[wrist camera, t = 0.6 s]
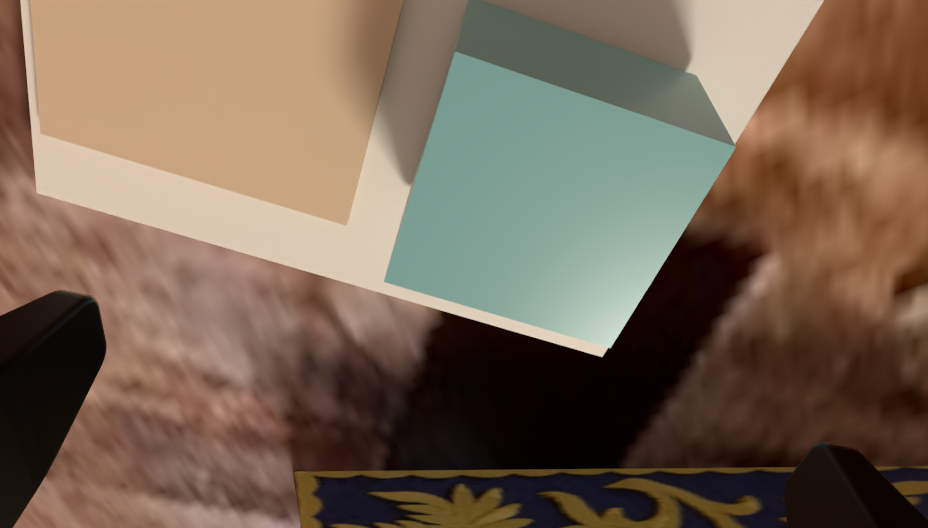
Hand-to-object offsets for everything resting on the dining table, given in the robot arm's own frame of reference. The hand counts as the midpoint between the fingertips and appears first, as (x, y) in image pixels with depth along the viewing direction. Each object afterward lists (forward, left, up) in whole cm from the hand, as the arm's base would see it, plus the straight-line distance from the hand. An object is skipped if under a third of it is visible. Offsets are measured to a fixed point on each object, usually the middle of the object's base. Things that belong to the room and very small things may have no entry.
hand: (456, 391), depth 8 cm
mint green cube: (-2, +1, -11) cm, 11 cm away
